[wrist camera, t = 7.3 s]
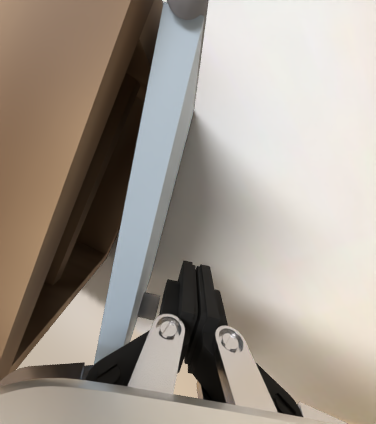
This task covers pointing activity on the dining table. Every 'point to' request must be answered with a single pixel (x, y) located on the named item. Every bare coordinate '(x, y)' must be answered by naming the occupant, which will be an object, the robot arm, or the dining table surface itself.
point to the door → (154, 169)
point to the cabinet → (64, 150)
